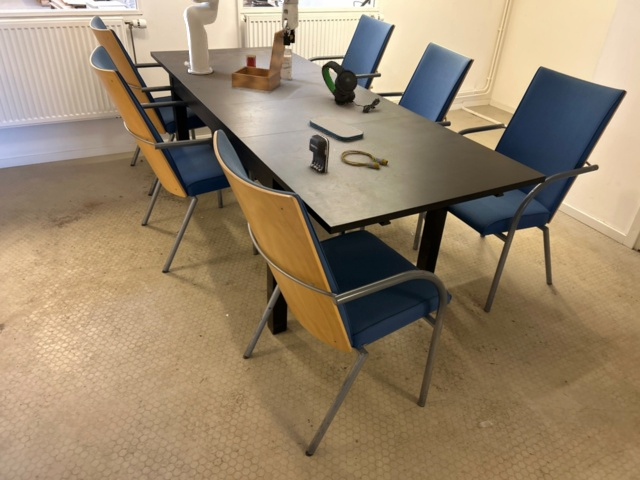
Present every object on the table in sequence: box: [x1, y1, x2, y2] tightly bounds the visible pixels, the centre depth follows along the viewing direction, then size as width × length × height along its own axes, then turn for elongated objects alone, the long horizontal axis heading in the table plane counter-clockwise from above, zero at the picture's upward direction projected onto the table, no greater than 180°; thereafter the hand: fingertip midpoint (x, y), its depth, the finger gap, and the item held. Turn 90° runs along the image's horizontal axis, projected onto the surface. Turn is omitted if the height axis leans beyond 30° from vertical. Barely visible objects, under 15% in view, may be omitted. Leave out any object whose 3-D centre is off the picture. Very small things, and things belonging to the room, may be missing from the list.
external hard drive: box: [309, 115, 364, 142], centre depth 191 cm, size 24×12×2 cm, turn 37°
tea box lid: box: [268, 29, 293, 77], centre depth 227 cm, size 20×16×5 cm
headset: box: [321, 60, 381, 113], centre depth 217 cm, size 18×14×29 cm
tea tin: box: [245, 54, 257, 68], centre depth 248 cm, size 5×5×11 cm
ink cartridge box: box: [281, 47, 293, 80], centre depth 249 cm, size 9×5×15 cm, turn 84°
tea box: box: [230, 65, 282, 92], centre depth 237 cm, size 19×16×7 cm
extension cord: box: [341, 149, 389, 169], centre depth 168 cm, size 12×16×2 cm
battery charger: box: [308, 133, 330, 174], centre depth 157 cm, size 7×4×11 cm, turn 34°
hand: (289, 43), depth 224 cm, fingers closed on tea box lid, 5 cm apart
